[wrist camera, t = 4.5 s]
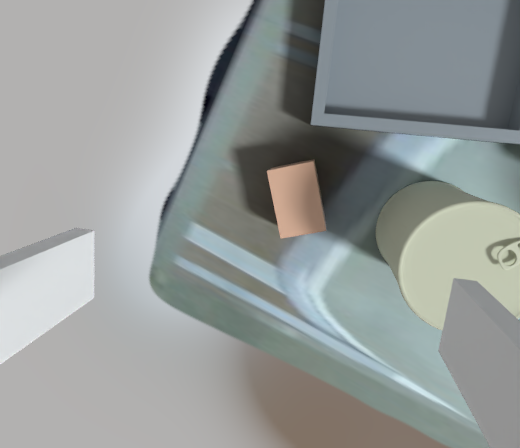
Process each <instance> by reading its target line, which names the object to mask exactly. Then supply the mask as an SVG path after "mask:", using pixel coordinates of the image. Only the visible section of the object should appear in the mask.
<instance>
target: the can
mask: <svg viewBox="0 0 520 448" xmlns="http://www.w3.org/2000/svg"><path fill="white" fill-rule="evenodd" d="M376 241H377V245H378V248H379V251H380V253H381V255H382V256H383V258H384V259H385V261H386V262H387V263H388V264H389V266H390V268H391V270H392V272H393V274H394V276H395V278H396V280H397V282H398V284H399V288H400V291H401V294H402V296H403V298H404V300H405V301H406V303H407V305H408V306H409V307H410V309H411V310H412V311H413V312H414V313H415V314H416V315H417V316H418V317H419V318H420V319H422V320H423V321H425V322H426V323H428V324H429V325H431V326H433V327H435V328H437V329H440V330H443V326H444V321H445V317H446V312H447V307H448V302H449V297H450V292H451V288H452V283H453V278H458V279H465V280H473V281H478V282H479V283H480V284H481V285H482V286H483V287H484V288H485V289H486V290H487V291H488V292H489V293H490V294H491V295H492V296H493V297H495V298H496V299H497V300H498V301H499V302H500V303H501V304H502V305H503V306H504V307H505V308H506V309H507V310H508V311H509V312H510V313H512V314H513V315H514V316H515V317H516V318H517V319H518V318H519V317H520V214H519V213H517V212H516V211H514V210H512V209H510V208H508V207H506V206H503V205H500V204H497V203H493V202H488V201H486V200H483V199H480V198H478V197H475V196H473V195H470V194H468V193H465V192H464V191H462V190H461V189H459V188H457V187H455V186H453V185H451V184H448V183H444V182H439V181H423V182H418V183H414V184H411V185H409V186H407V187H405V188H403V189H401V190H399V191H398V192H397V193H395V194H394V195H393V196H392V197H391V198H390V199H389V200H388V201H387V202H386V204H385V205H384V206H383V208H382V210H381V212H380V214H379V217H378V220H377V224H376Z"/></svg>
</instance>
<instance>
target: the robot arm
mask: <svg viewBox="0 0 520 448" xmlns="http://www.w3.org/2000/svg"><path fill="white" fill-rule="evenodd" d="M93 298H94V230H87V229H80V228H74V229H72V230H69V231H66V232H64V233H61V234H58V235H56V236H53V237H50V238H48V239H45V240H42V241H40V242H37V243H34V244H31V245H29V246H26V247H23V248H21V249H18V250H15V251H13V252H10V253H7V254H5V255H2V256H0V364H1V363H3V362H4V361H6V360H7V359H8V358H10V357H11V356H12V355H14V354H15V353H17V352H18V351H20V350H21V349H23V348H24V347H25V346H27V345H28V344H30V343H31V342H33V341H34V340H35V339H37V338H38V337H40V336H41V335H42V334H44V333H45V332H47V331H48V330H49V329H51V328H52V327H53V326H55V325H57V324H58V323H59V322H61V321H62V320H64V319H65V318H66V317H67V316H69V315H71V314H72V313H73V312H75V311H76V310H77V309H79V308H81V307H82V306H83V305H85V304H86V303H88V302H89V301H90V300H92V299H93ZM438 351H439V353H440V355H441V357H442V358H443V360H444V362H445V364H446V366H447V368H448V370H449V371H450V373H451V375H452V377H453V379H454V381H455V383H456V384H457V386H458V388H459V390H460V392H461V394H462V396H463V397H464V399H465V401H466V403H467V405H468V407H469V409H470V410H471V412H472V414H473V416H474V418H475V420H476V422H477V423H478V425H479V427H480V429H481V431H482V433H483V435H484V436H485V438H486V440H487V442H488V444H489V446H490V448H520V321H519V320H518V319H517V318H516V317H515V316H514V315H513V314H512V313H510V312H509V311H508V310H507V309H506V308H505V307H504V306H503V305H502V304H501V303H500V302H499V301H498V300H497V299H496V298H495V297H493V296H492V295H491V294H490V293H489V292H488V291H487V290H486V289H485V288H484V287H483V286H482V285H481V284H480V283H479V282H478V281H473V280H465V279H458V278H453V283H452V288H451V292H450V297H449V302H448V307H447V312H446V317H445V321H444V326H443V331H442V336H441V341H440V346H439V350H438Z"/></svg>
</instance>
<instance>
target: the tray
mask: <svg viewBox="0 0 520 448" xmlns="http://www.w3.org/2000/svg"><path fill="white" fill-rule="evenodd" d="M311 125H312V126H321V127H332V128H343V129H354V130H365V131H376V132H387V133H398V134H409V135H420V136H431V137H441V138H452V139H463V140H474V141H485V142H496V143H507V144H520V0H325V5H324V14H323V22H322V31H321V40H320V48H319V57H318V66H317V74H316V83H315V91H314V100H313V109H312V117H311Z"/></svg>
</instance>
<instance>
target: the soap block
mask: <svg viewBox="0 0 520 448" xmlns="http://www.w3.org/2000/svg"><path fill="white" fill-rule="evenodd" d="M267 174H268V179H269V184H270V189H271V194H272V199H273V204H274V209H275V213H276V218H277V223H278V228H279V233H280V238H287V237H293V236H298V235H304V234H310V233H316V232H322V231H326V219H325V213H324V208H323V202H322V197H321V191H320V186H319V181H318V175H317V170H316V164H315V159H312V160H307V161H302V162H297V163H292V164H287V165H282V166H277V167H273V168H271V169H269V170H267Z"/></svg>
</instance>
